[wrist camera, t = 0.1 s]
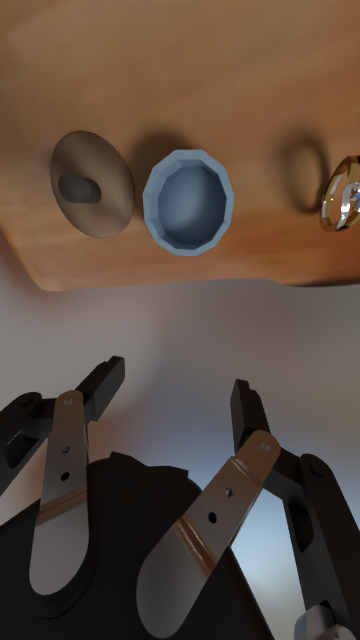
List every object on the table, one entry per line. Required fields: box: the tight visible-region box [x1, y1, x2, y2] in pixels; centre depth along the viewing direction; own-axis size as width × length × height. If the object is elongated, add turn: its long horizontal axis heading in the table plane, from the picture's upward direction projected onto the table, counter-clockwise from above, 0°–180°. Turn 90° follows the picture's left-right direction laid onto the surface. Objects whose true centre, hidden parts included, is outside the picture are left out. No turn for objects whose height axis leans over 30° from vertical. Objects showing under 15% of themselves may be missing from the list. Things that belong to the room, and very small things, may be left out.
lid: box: [51, 132, 134, 239], centre depth 26 cm, size 13×13×6 cm
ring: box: [319, 155, 360, 232], centre depth 21 cm, size 7×3×8 cm, turn 0°
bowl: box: [143, 150, 234, 256], centre depth 25 cm, size 11×11×5 cm
